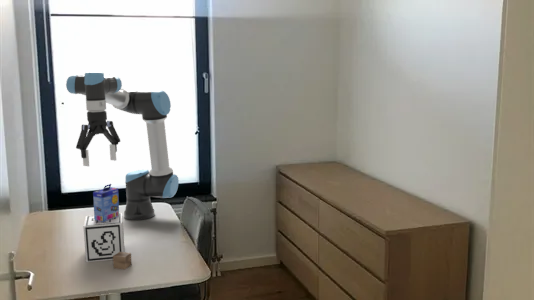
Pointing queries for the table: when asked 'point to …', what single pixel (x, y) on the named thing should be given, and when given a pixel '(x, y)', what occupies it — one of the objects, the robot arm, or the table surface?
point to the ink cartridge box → (106, 203)
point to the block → (103, 238)
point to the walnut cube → (122, 260)
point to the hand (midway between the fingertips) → (100, 163)
